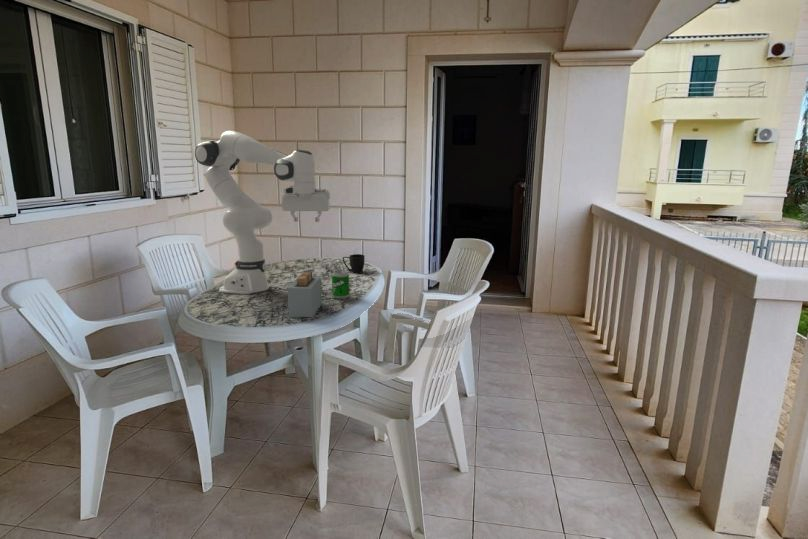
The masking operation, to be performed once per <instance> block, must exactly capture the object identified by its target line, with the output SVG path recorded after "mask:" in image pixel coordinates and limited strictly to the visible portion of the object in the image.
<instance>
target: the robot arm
mask: <svg viewBox="0 0 808 539" xmlns="http://www.w3.org/2000/svg"><path fill="white" fill-rule="evenodd" d="M194 157H195V160H196V161H197V163H198V164H200V165H201V166H205V167H209V168H208V169H207V170H205V174H204V176H205V179H206V182H207V184H208V186H209V187H210V189H211V190H212V192H213V193H214V195H215V196H216V197H217V198H218V200H219V202H220V203H221V204H222V205H223V206H224V207H225V208H227V209H228V211H226V212H225V213H224V215H223V217H222V223H223V226H224V228H225V229H226V231H228V232H229V233H230V234H231V235H232V236H233V238H234V240H235V242H236V245H237V253H238V260H236V262H235V263H234V266H235V268H234V269H233V270H232V271H230V272H229V274H227V275H226V276H225V278H224V280H223V285H222V286H220V287H219V289H218V291H219V293H227V294H240V295H249V294H253V293H260V292H264V291H266V290H268V289H270V286H269V282H268V279H267V278H268V277H267V275H266V266H267V264H266V261H265V260H266V259H265V256H264V244H263V242H262V241H261V240H259V238H257V236H256V234H255V231H256V230H262V229H264V228H266V227H268V226H270V224H271V223H272V221H273V214H272V211H271V210H270V209H269V208H268V207H266V206H264V205H261V204H259V203H258V202H257V201H256V200H254V199H252V198H251V197H250V196H249V195H248V194H246V193H245V191H244V190H243V189H242V188H241V186H240V184H238V183H237V181H236V180H235V179H234V177H233V176H232V174H231V173H230V172H231V171H233V170H235V169H236V166H238V165H239V163H240V162H241V161H242V162H245V163H249V164H267V165H273V173H274V175H275V177H276V178H277V179H278V180H280V181H283V182H289V181H291V182H293V181H294V182H293V183H294V185H291V186H288V187H286V188H283V189H282V190H283V195H282V198H281V209H282V211H284V212H290V215H291V216H292V218H293V222H294V223H295V222H298V221H299V217H298V216H296V215H295V213H296V212H317V216H316V217H315V218H314V219H315V220H314V221H315V222H316V223H319V222H321V221H320V218H321V216H322V213H323V212H328V211H330V209H331V205H330V198H331V196H330V192H329V191H328V190H327V189H319V188H318V189H316V188H317V187H316V186H317V185H316V184H317V183H316V179H315V172H316V165H315V158H314V155H313V153H312V151H309V150H304V149H295V150H294V151H293V152H292V153H290V154H289V155H288V154H285V153H284V152H281V151H278V150H276V149H274V148H271V147H269V146H268V145H266V144H264V143H262V142H260V141H258V140H256V139H254V138H253V137H251V136H249V135H246V134H244V133H241V132H239V131H237V130H235V131H234V130H226V131H224V132H223V133H222V134H221V136H220V138H219V140H218V141H215V140H208V141H203V142H200V143H198V144H197V145H196V147H195V148H194Z"/></svg>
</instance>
